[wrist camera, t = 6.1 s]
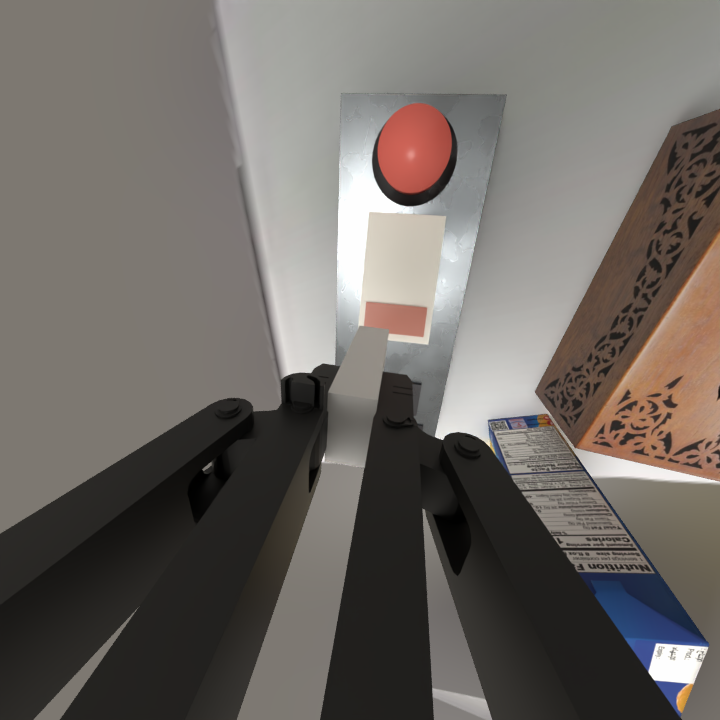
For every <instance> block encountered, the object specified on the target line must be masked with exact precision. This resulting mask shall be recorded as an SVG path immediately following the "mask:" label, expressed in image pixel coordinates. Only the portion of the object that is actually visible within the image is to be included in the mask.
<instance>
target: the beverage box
mask: <svg viewBox="0 0 720 720" xmlns="http://www.w3.org/2000/svg"><path fill="white" fill-rule="evenodd" d="M488 426H489V436H490V447H491V449H492V451H493V452H494V454H495V455H496V457H497V458H498V459H499V461H500V462H501V464H502V465H503V467H504V468H505V469H506V471H507V472H508V474H509V475H510V476H511V478H512V479H513V481H514V482H515V484H516V485H517V486H518V488H519V489H520V491H521V492H522V493H523V495H524V496H525V498H526V499H527V501H528V502H529V503H530V505H531V506H532V508H533V509H534V511H535V512H536V513H537V515H538V516H539V518H540V519H541V520H542V522H543V523H544V525H545V526H546V528H547V529H548V530H549V532H550V533H551V535H552V536H553V537H554V539H555V540H556V542H557V543H558V545H559V546H560V547H561V549H562V550H563V552H564V553H565V555H566V556H567V557H568V559H569V560H570V562H571V563H572V564H573V566H574V567H575V569H576V570H577V572H578V573H579V574H580V576H581V577H582V579H583V580H584V581H585V583H586V584H587V586H588V587H589V589H590V590H591V591H592V593H593V594H594V596H595V597H596V599H597V600H598V601H599V603H600V604H601V606H602V607H603V608H604V610H605V611H606V613H607V614H608V616H609V617H610V618H611V620H612V621H613V623H614V624H615V625H616V627H617V628H618V630H619V631H620V633H621V634H622V635H623V637H624V638H625V640H626V641H627V643H628V644H629V645H630V647H631V648H632V650H633V651H634V652H635V654H636V655H637V657H638V658H639V660H640V661H641V662H642V664H643V665H644V667H645V668H646V669H647V671H648V672H649V674H650V675H651V677H652V678H653V679H654V681H655V682H656V684H657V685H658V687H659V688H660V689H661V691H662V692H663V694H664V695H665V696H666V698H667V699H668V701H669V702H670V704H671V705H672V706H673V708H674V709H675V711H676V712H677V713H678V715H679V716H681V714H682V711H683V709H684V706H685V704H686V702H687V699H688V697H689V694H690V691H691V689H692V687H693V684H694V682H695V679H696V676H697V674H698V671H699V669H700V667H701V664H702V661H703V659H704V656H705V654H706V652H707V649H708V647H709V643H708V642H707V641H706V640H705V638H704V637H703V635H702V634H701V633H700V631H699V629H698V628H697V627H696V625H695V624H694V622H693V621H692V620H691V618H690V617H689V615H688V614H687V612H686V611H685V610H684V608H683V607H682V605H681V604H680V602H679V601H678V600H677V598H676V597H675V595H674V594H673V593H672V591H671V590H670V588H669V587H668V585H667V584H666V583H665V581H664V580H663V578H662V577H661V576H660V574H659V573H658V571H657V570H656V568H655V567H654V565H653V564H652V563H651V561H650V560H649V558H648V557H647V556H646V554H645V553H644V551H643V550H642V549H641V547H640V546H639V544H638V543H637V541H636V540H635V539H634V537H633V536H632V534H631V533H630V531H629V530H628V529H627V527H626V526H625V524H624V523H623V521H622V520H621V519H620V517H619V516H618V515H617V513H616V512H615V510H614V509H613V507H612V506H611V504H610V503H609V502H608V500H607V499H606V497H605V496H604V495H603V493H602V492H601V490H600V489H599V487H598V486H597V484H596V483H595V482H594V480H593V479H592V477H591V476H590V475H589V473H588V472H587V470H586V469H585V467H584V466H583V465H582V463H581V462H580V460H579V459H578V457H577V456H576V455H575V453H574V452H573V450H572V449H571V448H570V446H569V445H568V443H567V442H566V440H565V439H564V438H563V436H562V435H561V433H560V432H559V430H558V429H557V428H556V426H555V425H554V423H553V422H552V421H551V419H550V418H549V416H548V415H547V414H543V415H533V416H523V417H513V418H503V419H493V420H488Z"/></svg>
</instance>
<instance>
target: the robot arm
mask: <svg viewBox="0 0 720 720" xmlns="http://www.w3.org/2000/svg"><path fill="white" fill-rule="evenodd" d="M388 335H389V329H382V328H374V327H367V326H359V328H358V330H357V332H356V334H355V336H354V338H353V341H352V343H351V345H350V347H349V349H348V351H347V353H346V355H345V357H344V360H343V362H342V364H341V366H336V365H329V364H321V365H320V366H318V367H316V368H314V370H313V371H312V373H311V374H310V373H295V374H291V375H288V376H285V377H284V378H283V379H282V380H281V399H282V404H281V405H280V406H279V408H278V409H277V410H272V411H256V412H253V406H252V404H251V403H250V402H249V401H247V400H245V399H240V398H227V399H223V400H219V401H217V402H215V403H213V404H211V405H209V406H207V407H206V408H204V409H202V410H201V411H199V412H198V413H196V414H194V415H193V416H191V417H189V418H188V419H186V420H185V421H183V422H181V423H180V424H178V425H176V426H175V427H173V428H172V429H170V430H169V431H167V432H165V433H164V434H162V435H160V436H159V437H157V438H155V439H154V440H152V441H151V442H149V443H147V444H146V445H144V446H142V447H141V448H139V449H137V450H136V451H134V452H133V453H131V454H129V455H128V456H126V457H125V458H123V459H121V460H120V461H118V462H116V463H115V464H113V465H111V466H110V467H108V468H107V469H105V470H103V471H102V472H100V473H98V474H97V475H95V476H94V477H92V478H90V479H89V480H87V481H86V482H84V483H82V484H81V485H79V486H77V487H76V488H74V489H72V490H71V491H69V492H68V493H66V494H64V495H63V496H61V497H59V498H58V499H56V500H55V501H53V502H51V503H50V504H48V505H46V506H45V507H43V508H42V509H40V510H38V511H37V512H35V513H33V514H32V515H30V516H29V517H27V518H25V519H24V520H22V521H20V522H19V523H17V524H16V525H14V526H12V527H11V528H9V529H7V530H6V531H4V532H2V533H1V534H0V720H33V719H34V718H35V717H36V716H37V715H38V714H39V713H40V712H41V711H42V710H43V709H44V708H45V707H46V705H47V704H48V703H49V702H50V701H51V700H52V699H53V698H54V697H55V696H56V695H57V693H59V692H60V690H61V689H62V688H63V687H64V686H65V685H66V684H67V683H68V682H69V681H70V680H71V679H72V677H73V676H74V675H75V674H76V673H77V672H78V671H79V670H80V669H81V668H82V667H83V666H84V665H85V664H86V663H87V662H88V660H89V659H90V658H91V657H92V656H93V655H94V654H95V653H96V652H97V651H98V650H99V648H101V647H102V646H103V644H104V643H105V642H106V641H107V640H108V639H109V638H110V637H111V636H112V635H113V634H114V633H115V632H116V631H117V629H118V628H119V627H120V626H121V625H122V624H123V623H124V622H125V621H126V620H127V619H128V618H129V617H130V616H131V614H132V613H133V612H134V611H135V610H136V609H137V608H138V607H139V608H138V609H137V611H136V612H135V613H134V615H133V616H132V618H131V619H130V621H129V622H128V623H127V625H126V627H125V628H124V629H123V630H122V632H121V633H120V635H119V636H118V638H117V639H116V641H115V642H114V643H113V645H112V646H111V648H110V649H109V651H108V652H107V653H106V655H105V656H104V658H103V659H102V661H101V662H100V663H99V665H98V667H97V668H96V669H95V670H94V672H93V673H92V675H91V676H90V678H89V679H88V680H87V682H86V683H85V685H84V686H83V688H82V689H81V690H80V692H79V693H78V695H77V696H76V698H75V699H74V700H73V702H72V703H71V705H70V706H69V708H68V709H67V710H66V712H65V713H64V715H63V716H62V718H61V719H60V720H237V717H238V714H239V711H240V708H241V705H242V702H243V699H244V696H245V694H246V690H247V688H248V685H249V682H250V679H251V676H252V673H253V670H254V667H255V664H256V661H257V658H258V656H259V653H260V650H261V647H262V643H263V641H264V638H265V635H266V632H267V629H268V626H269V623H270V620H271V618H272V615H273V612H274V609H275V606H276V603H277V600H278V597H279V594H280V591H281V588H282V585H283V582H284V580H285V576H286V574H287V571H288V568H289V565H290V562H291V559H292V556H293V553H294V550H295V547H296V544H297V541H298V539H299V536H300V533H301V530H302V527H303V524H304V521H305V518H306V515H307V512H308V509H309V506H310V504H311V500H312V498H313V495H314V492H315V489H316V486H317V483H318V480H319V477H320V474H321V461H322V458H323V456H324V453H325V462H331V463H337V464H342V465H348V466H354V467H360V468H364V474H363V479H362V485H361V491H360V496H359V502H358V508H357V513H356V519H355V525H354V531H353V536H352V542H351V547H350V553H349V559H348V565H347V570H346V576H345V582H344V587H343V593H342V599H341V604H340V610H339V616H338V621H337V627H336V633H335V639H334V645H333V650H332V655H331V661H330V667H329V672H328V678H327V684H326V689H325V695H324V701H323V707H322V712H321V718H320V720H434V717H433V716H434V715H433V696H432V678H431V660H430V642H429V623H428V607H427V606H428V605H427V589H426V570H425V550H424V533H423V513H422V508H423V509H425V512H426V517H427V520H428V523H429V526H430V529H431V532H432V536H433V539H434V542H435V545H436V548H437V550H438V554H439V557H440V560H441V563H442V566H443V569H444V572H445V575H446V579H447V581H448V585H449V588H450V591H451V594H452V597H453V600H454V603H455V606H456V609H457V612H458V615H459V618H460V622H461V624H462V627H463V631H464V634H465V637H466V640H467V643H468V646H469V649H470V652H471V655H472V658H473V661H474V664H475V668H476V671H477V674H478V677H479V680H480V683H481V686H482V689H483V692H484V695H485V698H486V701H487V704H488V708H489V711H490V714H491V717H492V720H682V719H681V718H680V716H679V715H678V713H677V712H676V711H675V709H674V708H673V706H672V705H671V704H670V702H669V701H668V699H667V698H666V696H665V695H664V694H663V692H662V691H661V689H660V688H659V687H658V685H657V684H656V682H655V681H654V679H653V678H652V677H651V675H650V674H649V672H648V671H647V669H646V668H645V667H644V665H643V664H642V662H641V661H640V660H639V658H638V657H637V655H636V654H635V652H634V651H633V650H632V648H631V647H630V645H629V644H628V643H627V641H626V640H625V638H624V637H623V635H622V634H621V633H620V631H619V630H618V628H617V627H616V625H615V624H614V623H613V621H612V620H611V618H610V617H609V616H608V614H607V613H606V611H605V610H604V608H603V607H602V606H601V604H600V603H599V601H598V600H597V599H596V597H595V596H594V594H593V593H592V591H591V590H590V589H589V587H588V586H587V584H586V583H585V581H584V580H583V579H582V577H581V576H580V574H579V573H578V572H577V570H576V569H575V567H574V566H573V564H572V563H571V562H570V560H569V559H568V557H567V556H566V555H565V553H564V552H563V550H562V549H561V547H560V546H559V545H558V543H557V542H556V540H555V539H554V537H553V536H552V535H551V533H550V532H549V530H548V529H547V528H546V526H545V525H544V523H543V522H542V520H541V519H540V518H539V516H538V515H537V513H536V512H535V511H534V509H533V508H532V506H531V505H530V503H529V502H528V501H527V499H526V498H525V496H524V495H523V493H522V492H521V491H520V489H519V488H518V486H517V485H516V484H515V482H514V481H513V479H512V478H511V476H510V475H509V474H508V472H507V471H506V469H505V468H504V467H503V465H502V464H501V462H500V461H499V459H498V458H497V457H496V455H495V454H494V452H493V451H492V449H491V448H490V447H489V446H488V445H487V444H486V443H485V442H484V441H482V440H481V439H479V438H477V437H475V436H473V435H470V434H467V433H460V432H456V433H450V434H448V435H447V436H445V438H444V440H441V439H438V438H435V437H433V436H431V435H429V434H427V433H425V432H424V431H422V430H421V429H420V428H419V427H418V424H417V422H416V419H415V418H414V411H413V390H412V389H413V387H412V381H411V379H410V378H409V377H408V376H407V375H404V374H397V373H391V372H384V364H385V357H386V349H387V342H388ZM210 462H212V466H210V467H209V468H208V469H206V470H205V471H203V470H202V469H203V468H204V467H205V466H207V465H208V464H209V463H210Z"/></svg>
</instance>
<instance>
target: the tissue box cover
mask: <svg viewBox="0 0 720 720" xmlns="http://www.w3.org/2000/svg"><path fill="white" fill-rule="evenodd" d="M535 393H536V394H537V396H538V397H539V399H540V400H541V401H542V403H543V404H544V405H545V407H546V408H547V410H548V411H549V412H550V414H551V415H552V416H553V418H554V419H555V421H556V422H557V423H558V425H559V426H560V428H561V429H562V430H563V432H564V433H565V434H566V436H567V437H568V439H569V440H570V441H571V443H572V444H573V445H574V447H575V448H577V449H582V450H586V451H590V452H595V453H599V454H603V455H608V456H612V457H616V458H621V459H625V460H629V461H634V462H638V463H642V464H646V465H651V466H655V467H659V468H664V469H668V470H672V471H677V472H681V473H685V474H690V475H694V476H698V477H703V478H707V479H711V480H716V481H720V109H719V110H716V111H713V112H710V113H708V114H705V115H702V116H700V117H697V118H694V119H691V120H689V121H686V122H683V123H681V124H678V125H675V126H672V127H671V129H670V131H669V133H668V135H667V137H666V139H665V141H664V143H663V145H662V147H661V149H660V151H659V152H658V154H657V156H656V158H655V160H654V162H653V164H652V166H651V168H650V170H649V172H648V174H647V176H646V178H645V180H644V181H643V183H642V185H641V187H640V189H639V191H638V193H637V195H636V197H635V199H634V201H633V203H632V205H631V207H630V209H629V210H628V212H627V214H626V216H625V218H624V220H623V222H622V224H621V226H620V228H619V230H618V232H617V234H616V236H615V238H614V240H613V241H612V243H611V245H610V247H609V249H608V251H607V253H606V255H605V257H604V259H603V261H602V263H601V265H600V267H599V269H598V270H597V272H596V274H595V276H594V278H593V280H592V282H591V284H590V286H589V288H588V290H587V292H586V294H585V296H584V298H583V300H582V301H581V303H580V305H579V307H578V309H577V311H576V313H575V315H574V317H573V319H572V321H571V323H570V325H569V327H568V329H567V330H566V332H565V334H564V336H563V338H562V340H561V342H560V344H559V346H558V348H557V350H556V352H555V354H554V356H553V358H552V360H551V361H550V363H549V365H548V367H547V369H546V371H545V373H544V375H543V377H542V379H541V381H540V383H539V385H538V387H537V389H536V390H535Z"/></svg>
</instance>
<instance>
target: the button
mask: <svg viewBox="0 0 720 720" xmlns="http://www.w3.org/2000/svg"><path fill="white" fill-rule="evenodd" d="M451 147H452V138H451V132H450V128H449V125H448V123H447V121H446V119H445V117H444V116H443V115H442V113H440V112H439V111H438V110H437V109H436V108H434V107H432V106H430V105H428V104H424V103H414V104H409V105H407V106H404V107H402V108H401V109H399V110H398V111H396V112H395V113H394V114H393V115H392V116H391V117H390V118H389V120H388V121H387V123H386V124H385V126H384V128H383V130H382V132H381V135H380V138H379V143H378V161H379V166H380V169H381V171H382V173H383V175H384V177H385V178H386V180H387V182H388V183H389V185H390V186H391V187H392V188H393V189H394V190H396V191H397V192H399V193H402V194H405V195H417V194H420V193H423V192H425V191H427V190H428V189H430V188H431V187H432V186H433V185H434V184H435V183H436V182H437V181H438V179H439V178H440V176H441V175H442V173H443V171H444V170H445V168H446V166H447V164H448V161H449V158H450V154H451Z"/></svg>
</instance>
